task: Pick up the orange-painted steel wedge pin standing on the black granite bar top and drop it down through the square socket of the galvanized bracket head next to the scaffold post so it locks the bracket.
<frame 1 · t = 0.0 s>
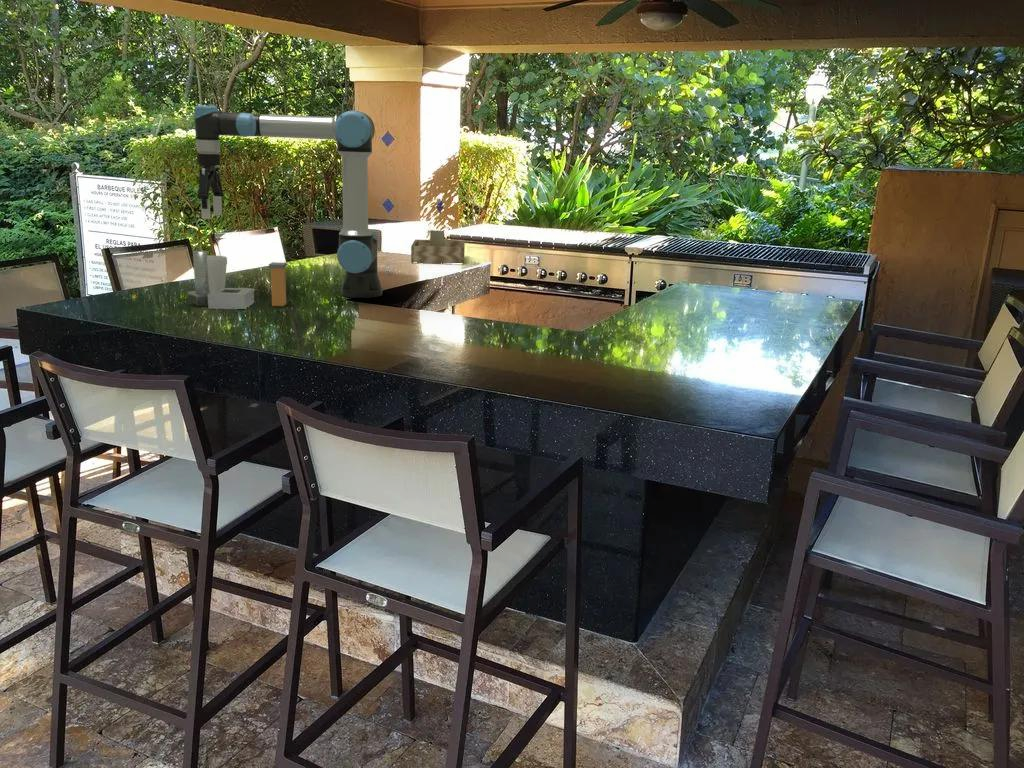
hand: (212, 217, 295), 28 cm above the table, fingers open, 13 cm apart
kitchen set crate: (438, 260, 413), on the table
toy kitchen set: (438, 261, 413), resting in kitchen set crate
foam cup: (215, 293, 310), on the table
wedge pin: (279, 304, 294), on the table
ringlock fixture: (231, 305, 289), on the table
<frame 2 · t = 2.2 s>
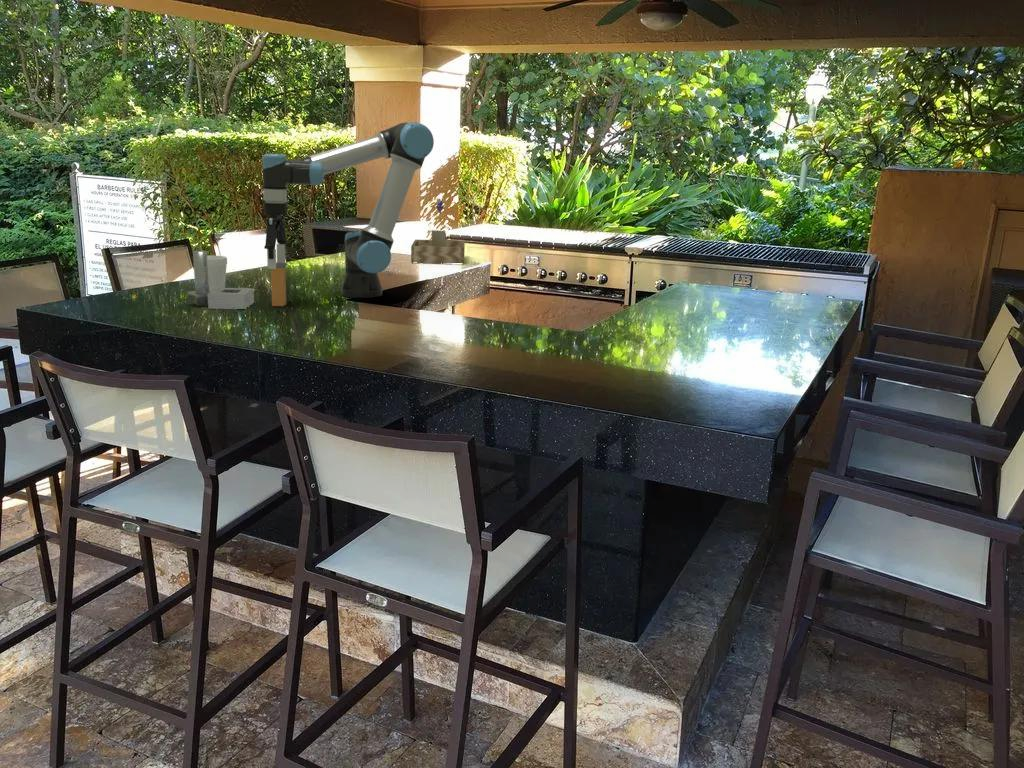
hand: (276, 265, 290), 13 cm above the table, fingers open, 13 cm apart
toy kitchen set: (441, 261, 413), resting in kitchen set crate
everything else where it was.
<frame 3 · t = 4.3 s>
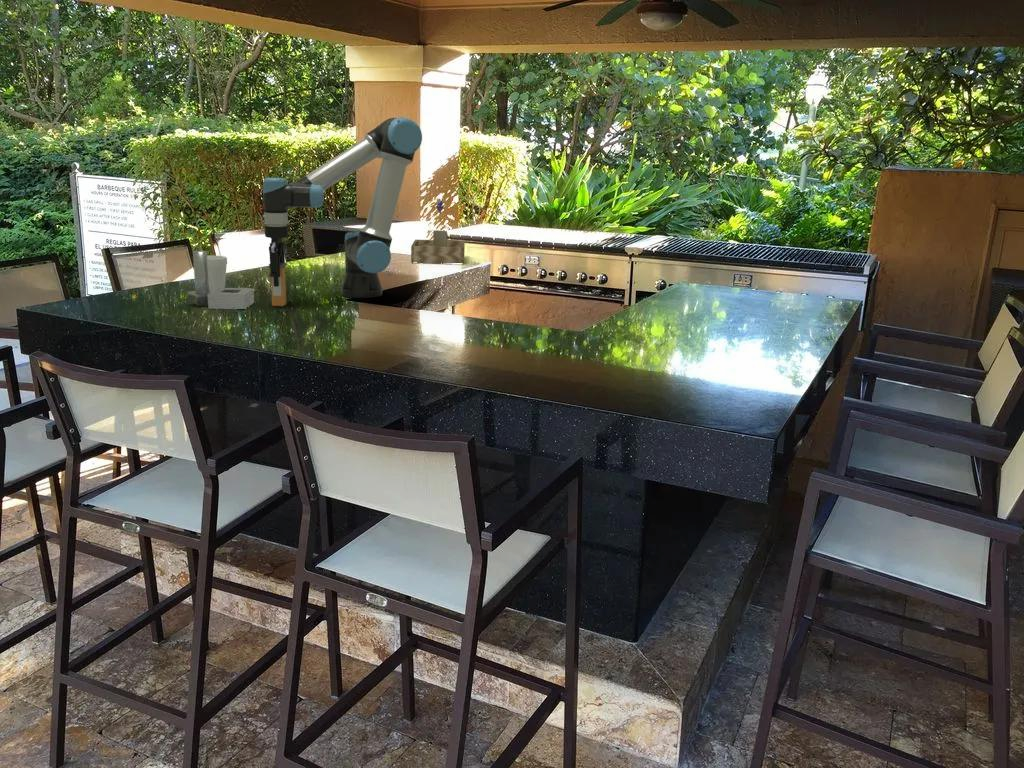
hand: (278, 294, 293), 4 cm above the table, fingers closed on wedge pin, 4 cm apart
wedge pin: (279, 304, 294), on the table, touching gripper
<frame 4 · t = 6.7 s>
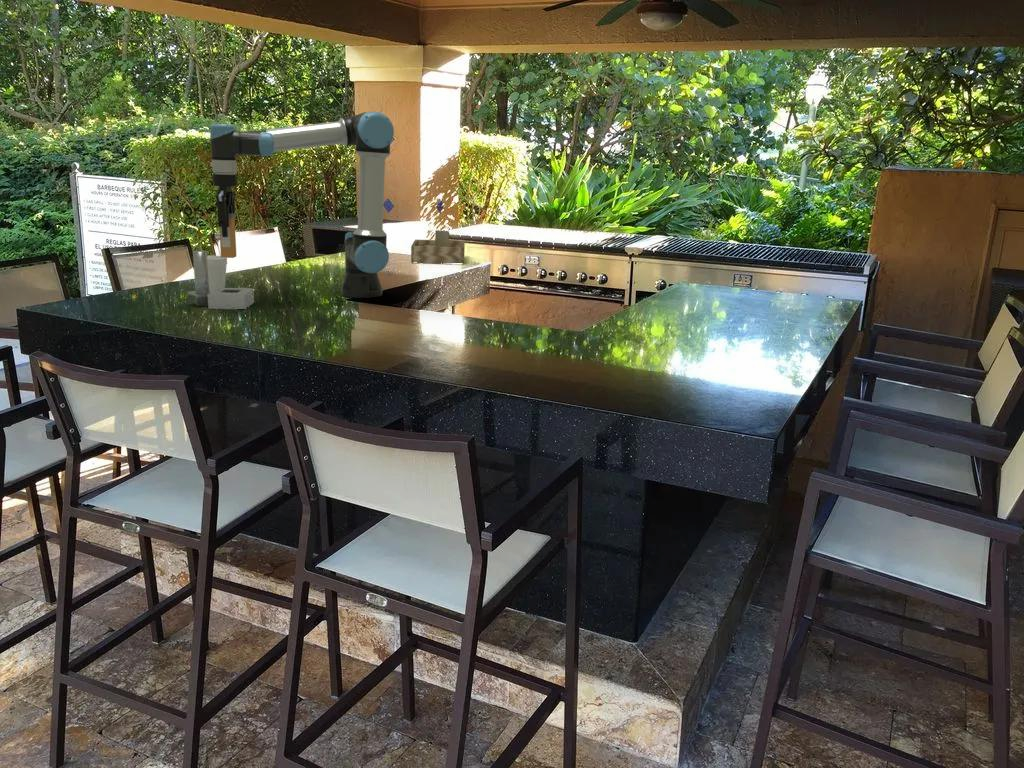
hand: (228, 245, 284), 20 cm above the table, fingers closed on wedge pin, 4 cm apart
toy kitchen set: (445, 261, 414), resting in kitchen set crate
wedge pin: (228, 256, 285), point 16 cm above the table, touching gripper
everything else where it was.
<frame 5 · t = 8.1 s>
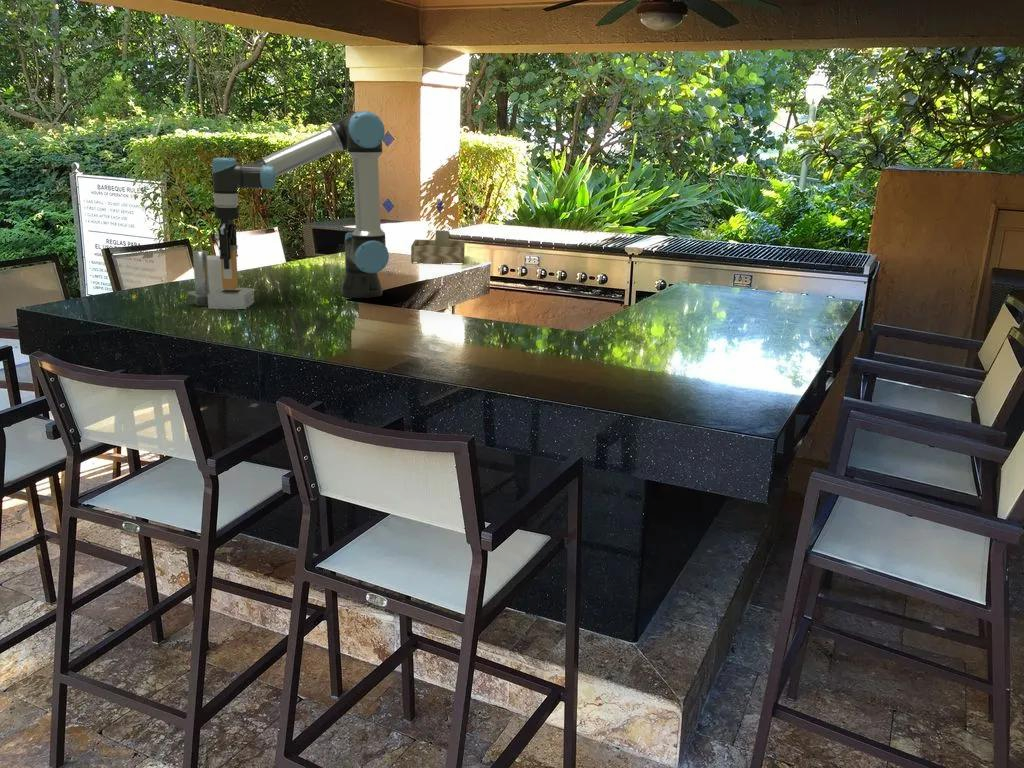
hand: (229, 277, 286), 10 cm above the table, fingers closed on wedge pin, 4 cm apart
wedge pin: (230, 288, 287), point 6 cm above the table, touching gripper
when the fingers open (7 cm above the table, at t = 9.3 s): wedge pin drops 3 cm, resting in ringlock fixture.
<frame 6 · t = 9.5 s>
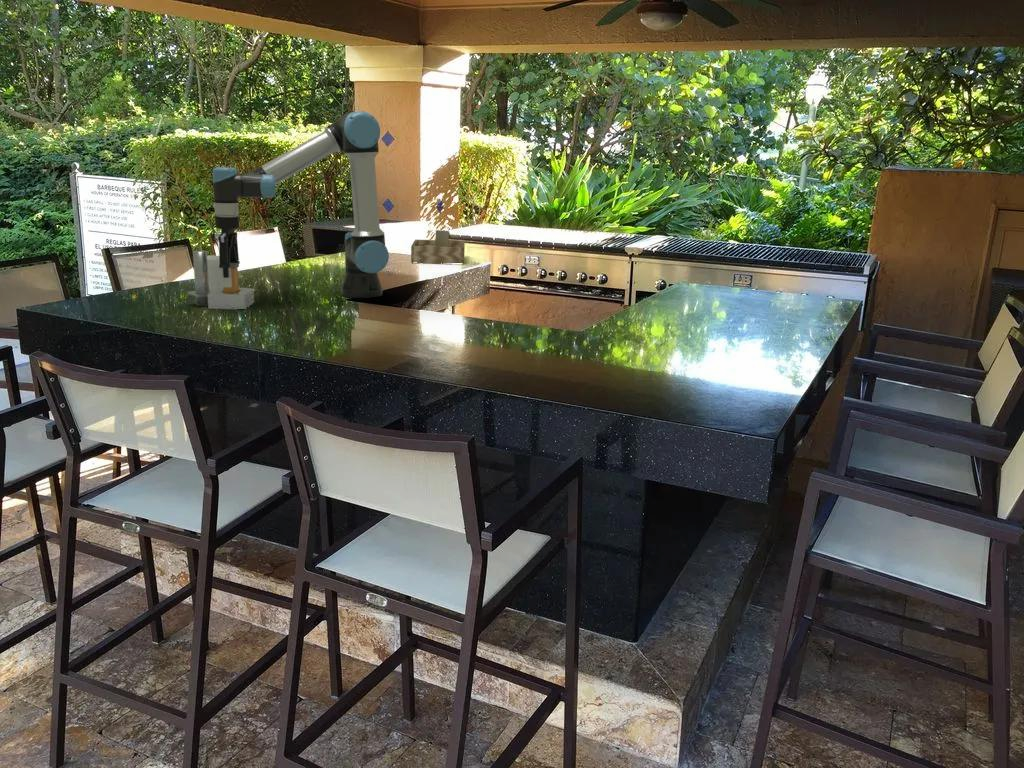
hand: (230, 285, 287), 7 cm above the table, fingers open, 7 cm apart
wedge pin: (231, 305, 289), resting in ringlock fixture
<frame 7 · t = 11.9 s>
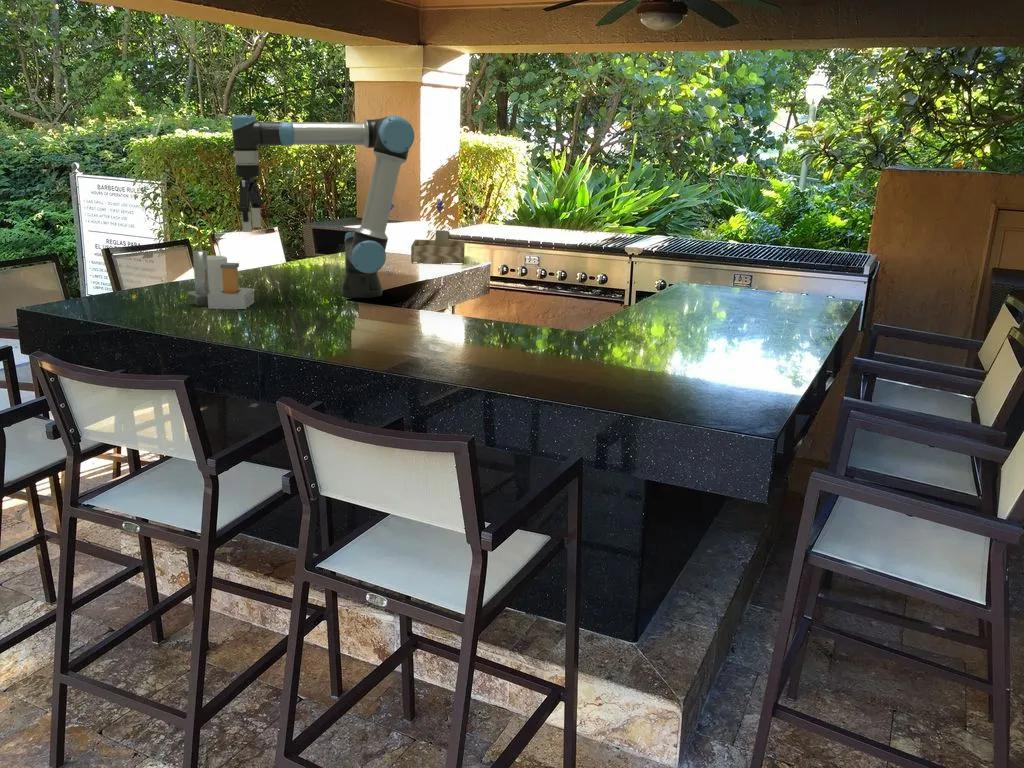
hand: (252, 229, 287), 25 cm above the table, fingers open, 13 cm apart
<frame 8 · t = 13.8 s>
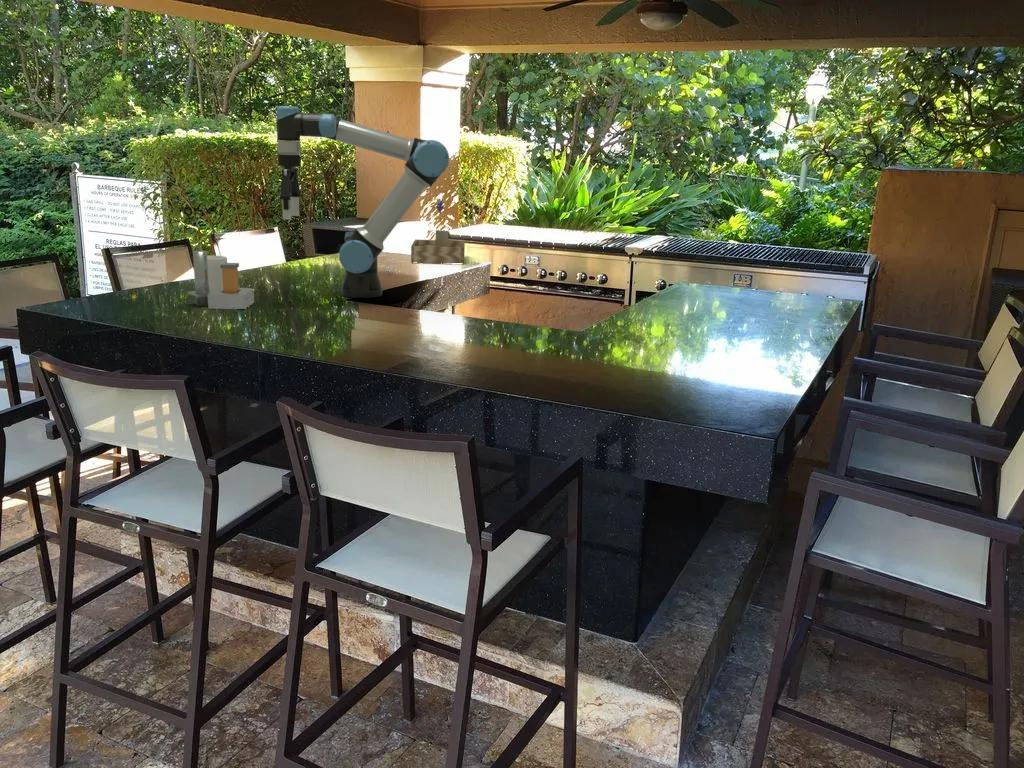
hand: (291, 217, 295), 29 cm above the table, fingers open, 13 cm apart
at the end: wedge pin 0.0 cm off-centre on the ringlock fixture, point 0.0 cm above the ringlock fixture's base; wedge pin tilted 0°; the gripper is holding nothing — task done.
